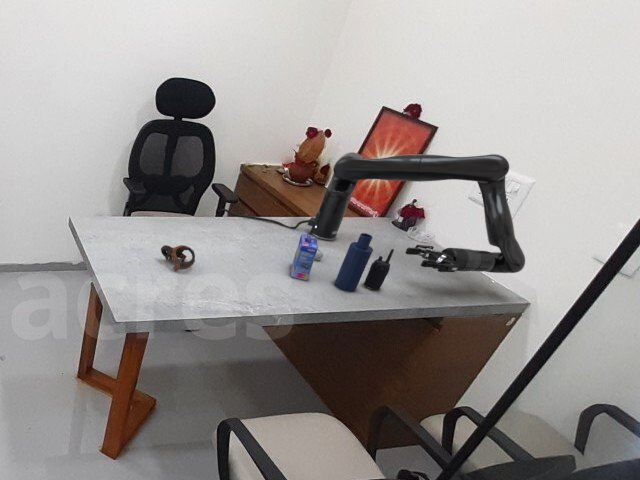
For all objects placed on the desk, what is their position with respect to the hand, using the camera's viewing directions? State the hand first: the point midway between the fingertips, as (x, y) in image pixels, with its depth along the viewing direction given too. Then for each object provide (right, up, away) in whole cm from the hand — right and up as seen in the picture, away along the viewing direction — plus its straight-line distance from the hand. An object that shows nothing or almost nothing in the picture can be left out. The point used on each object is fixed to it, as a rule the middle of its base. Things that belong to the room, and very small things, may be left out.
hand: (414, 257), depth 168 cm
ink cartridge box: (-34, -5, +10) cm, 36 cm away
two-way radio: (-11, -10, +6) cm, 16 cm away
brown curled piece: (-77, -2, +7) cm, 77 cm away
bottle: (-21, -10, +5) cm, 23 cm away
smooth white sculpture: (-24, +2, +22) cm, 32 cm away
